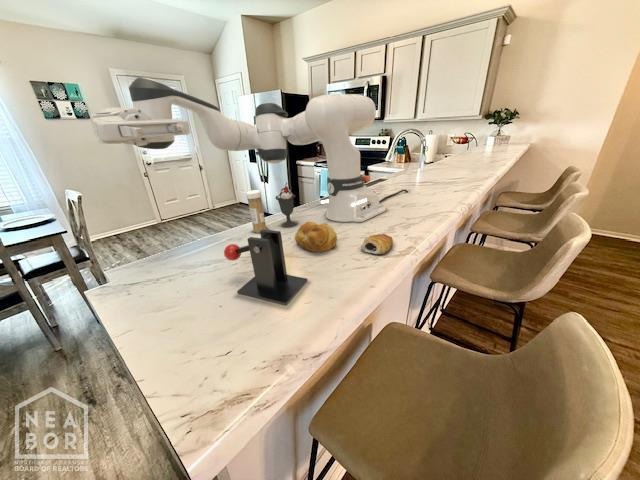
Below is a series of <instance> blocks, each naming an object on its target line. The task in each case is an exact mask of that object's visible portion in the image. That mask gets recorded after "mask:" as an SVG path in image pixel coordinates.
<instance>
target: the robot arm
mask: <svg viewBox="0 0 640 480" xmlns="http://www.w3.org/2000/svg"><path fill="white" fill-rule="evenodd" d="M128 91H129V95H130V99H131V102H132V107H114V106H113V107H107V108H104V109H102V110H100V111H99V112H97V113H91V114H89V117H90V122H91V125H92V129H93V132H94V135H95V137H96V139H97V140H98V143H100V144H105V145H106V144H107V145H109V144H110V145H111V144H112V145H113V144H114V145H115V144H118V145H120V144H121V145H122V144H125V145H129V146H136V147H138V148H142V149H149V150H165V149H168V148H169V147H170V146H172V145H173V144H174V143H175V137H176V136H188V135H190V134H191V128H190V124H189V121H188V120H187V119H182V118H181V119H180V118H179V119H177V118H176V119H175V118H173V110H172V109H173V108H172V106H174V105H175V106H177V107H180V108H183V109H186V110H189V111H192V112H193V113H195V114H196V115H197V117H198V118H199V120H200V122H201V124H202V127H203V129H204V132H205V135H206V137H207V139H208V140H209V142H210V143H211V144H212V145H213V146H214V147H215V148H216V149H219V150H221V151H229V152H243V151H250V150H256V151H255V152H254V154H255V155H256V156H258V157H259V159H261V160H262V161H264V162H265V163H268V164H272V165H273V164H275V165H276V164H279V163H282V162H285V160H286V159H287V155H288V149H287V141H288V142H289V143H290V144H292V145H294V146H304V145H305V146H306V145H310V144H313V143H316V142H317V143H318V142H320V143H321V145H322V147H323V149H324V153H325V156H326V166H327V167H326V168H327V177H326V185H327V186H326V187H327V193H328V198H327V199H324V200H320V204H326V203H327V207H326V208H327V209H326V213H325V217H326V218H327V219H328V220H330V221H332V222H341V223H344V222H346V223H347V222H353V223H354V222H355V223H363V222H365V221H367V220H369V219H371V218H374V217H376V216H378V215H380V214H382V213H385V212H386V211H387V210H386V209H387V208H386V207H385V206H384V205H382V204H381V203H382V202H383V201H385V200H386V199H389V198H391V197H393V196H397V195H399V194H401V193H403V192H405V193H409V191H408V190H407V189H401V190H399V191H397V192H395V193H392V194H389V195H386V196H385V197H383V198H382V199H381V200H380V198H379V195H378V194H377V193H376V190H375V191H374V190H372V189H371V188H369V187H368V186H367V185H365V182H367V183H368V182H370V181H371V177H370V175H366V174H365V175H362V174H361V153H360V152H361V151H360V150H359V149H358V148H357V146H354V145H353V143H352V141H351V138H350V136H349V134H353V133H356V132H360V131H363V130H365V129H367V128H370V127H371V126H372V124H373V123H374V121H375V119H376V114H377V108H376V104H375V102H374V101H373V99H371V98H370V97H369V96H365V95H364V94H363V95H362V94H360V93H359V94H358V93H333V94H332V93H329V94H323V95H318V96H315V97H312V98H310V100H309V101H308V102H307V104H306V108H305V110H304V111H302V112H299V113H298V114H296V115H294V116H293V117H288V116H289V113H288V112H287V111H286V110H284V108H282V107H281V105H279V104H277V103H274V102H264V103H260V104H258V105H257V106H256V107H255V112H254V113H255V114H254V117H255V126H254V125H253V124H251V123H248V122H245V121H242V120H237V119H232V118H228V117H226V115H224V114H223V113H222V111H221V110H220V107H217V106H216V105H215V104H213V103H210V102H207V101H205V100H204V99H200V98H198V97H195V96H193V95H191V94H187V93H186V92H183V91H180V90H178V89H175V88H173V87H170V86H168V85H167V84H164V83H162V82H160V81H158V80H156V79H153V78H149V77H136V78H135V79H134V80H133V81H132V82H131V84H130V85H129V87H128Z"/></svg>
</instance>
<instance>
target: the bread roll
mask: <svg viewBox="0 0 640 480" xmlns="http://www.w3.org/2000/svg"><path fill="white" fill-rule="evenodd" d="M294 241H295V243H296V244H297V245H298V246H300V247H301V248H302V249H305V251H308V252H311V253H316V254H320V253H325V252H329V251H330V250H332V249H333V248H334V247H335V246H336V245H337V243H338V235H337V232H336V231H335V230H334V228H333V227H332V226H331V225H329V224H327V223H321V224H320V223H319V224H318V223H317V222H314V221H306V222H305V223H303V224H301V225H300V226H299V227H298V229H297V231H296V233H295V234H294Z"/></svg>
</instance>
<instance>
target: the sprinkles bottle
mask: <svg viewBox="0 0 640 480" xmlns="http://www.w3.org/2000/svg"><path fill="white" fill-rule="evenodd" d="M245 196H246V199H247V203H248V210H249V214H250V215H249V216H250V220H251V224H252V231H253V232H254V233H256V234H257V233H259V234H260V231H261V230H262V229H265V230H268V228H267V225H266V218H265V217H266V216H265V212H264V207H263V202H262V192H261V190H259V189H253V190H248V191H246V192H245Z"/></svg>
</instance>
